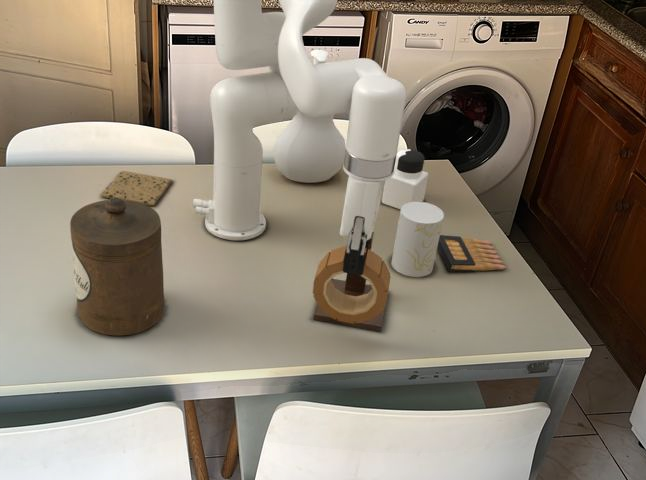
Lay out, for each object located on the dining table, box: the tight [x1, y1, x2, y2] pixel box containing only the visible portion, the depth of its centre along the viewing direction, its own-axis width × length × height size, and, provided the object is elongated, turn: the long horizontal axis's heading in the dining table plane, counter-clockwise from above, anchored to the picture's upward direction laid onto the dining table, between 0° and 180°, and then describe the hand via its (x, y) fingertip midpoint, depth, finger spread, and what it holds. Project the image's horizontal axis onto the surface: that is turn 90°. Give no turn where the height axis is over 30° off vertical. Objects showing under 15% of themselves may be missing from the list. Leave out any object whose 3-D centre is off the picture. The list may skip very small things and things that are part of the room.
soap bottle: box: [272, 49, 346, 184], centre depth 180 cm, size 17×12×29 cm
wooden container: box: [69, 197, 165, 337], centre depth 136 cm, size 15×15×22 cm
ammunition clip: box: [437, 234, 508, 273], centre depth 163 cm, size 11×2×12 cm
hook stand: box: [313, 231, 386, 333], centre depth 144 cm, size 12×13×13 cm
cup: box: [390, 201, 445, 278], centre depth 157 cm, size 8×8×12 cm
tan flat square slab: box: [101, 170, 173, 207], centre depth 178 cm, size 12×12×1 cm
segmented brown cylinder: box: [312, 245, 392, 324], centre depth 133 cm, size 12×5×12 cm, turn 79°
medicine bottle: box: [381, 148, 429, 211], centre depth 177 cm, size 7×7×12 cm
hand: (354, 262), depth 131 cm, fingers closed on segmented brown cylinder, 4 cm apart
